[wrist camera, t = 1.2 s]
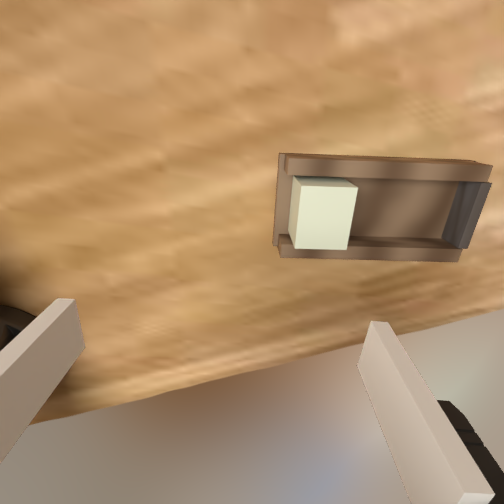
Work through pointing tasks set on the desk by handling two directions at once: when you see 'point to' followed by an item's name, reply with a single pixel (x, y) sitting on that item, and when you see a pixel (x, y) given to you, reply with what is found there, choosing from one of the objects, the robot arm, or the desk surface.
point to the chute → (392, 205)
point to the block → (321, 212)
